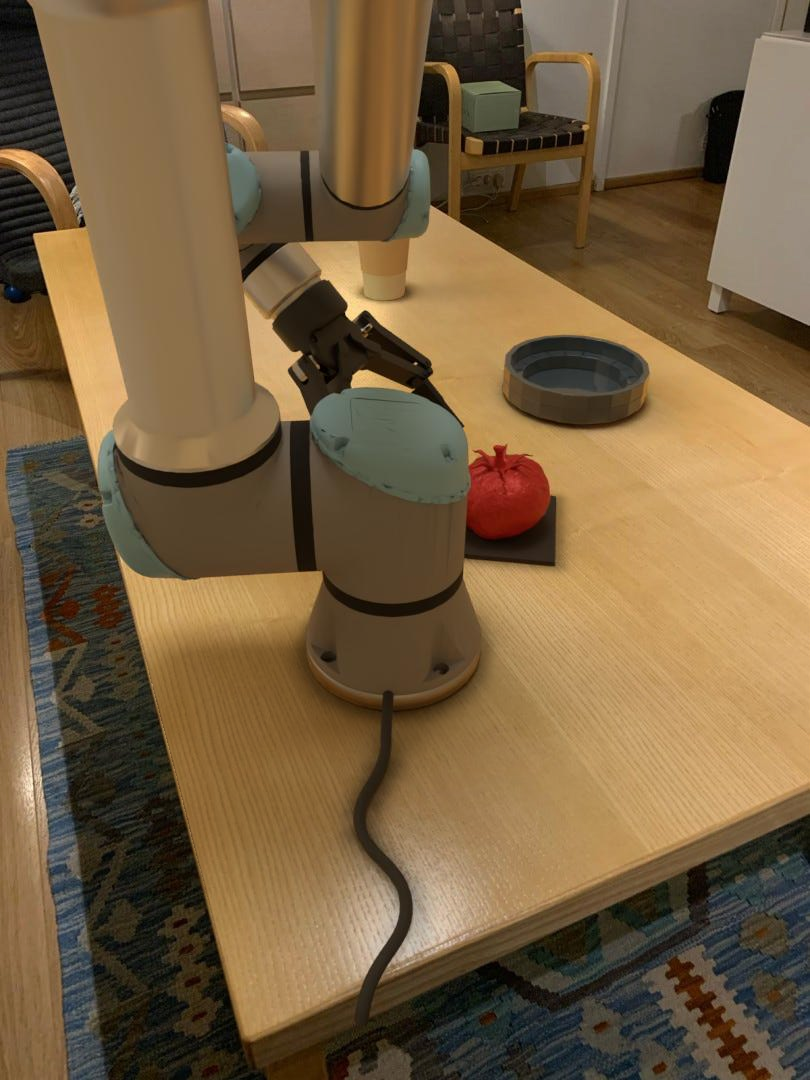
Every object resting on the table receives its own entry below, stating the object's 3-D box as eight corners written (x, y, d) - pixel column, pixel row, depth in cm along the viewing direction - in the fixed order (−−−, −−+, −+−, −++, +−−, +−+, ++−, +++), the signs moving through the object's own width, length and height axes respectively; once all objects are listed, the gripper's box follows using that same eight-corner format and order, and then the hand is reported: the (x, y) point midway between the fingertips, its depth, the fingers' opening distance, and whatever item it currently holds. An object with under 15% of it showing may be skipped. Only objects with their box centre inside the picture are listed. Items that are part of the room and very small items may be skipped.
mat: (554, 566, 87) (555, 562, 87) (434, 555, 88) (434, 551, 88) (555, 499, 96) (556, 496, 96) (447, 490, 98) (447, 487, 98)
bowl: (648, 433, 108) (654, 400, 106) (498, 422, 111) (501, 390, 108) (638, 369, 123) (643, 339, 121) (506, 360, 125) (508, 331, 123)
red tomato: (563, 537, 90) (573, 459, 84) (474, 558, 87) (479, 479, 81) (518, 488, 97) (525, 414, 92) (436, 506, 94) (438, 430, 89)
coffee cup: (347, 297, 145) (343, 203, 136) (374, 280, 152) (372, 190, 143) (395, 306, 142) (394, 211, 133) (420, 288, 148) (421, 197, 140)
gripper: (336, 282, 100) (452, 426, 103) (204, 367, 81) (350, 539, 85) (376, 241, 95) (497, 395, 98) (245, 323, 76) (399, 508, 80)
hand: (429, 462), depth 92 cm, fingers open, 13 cm apart
